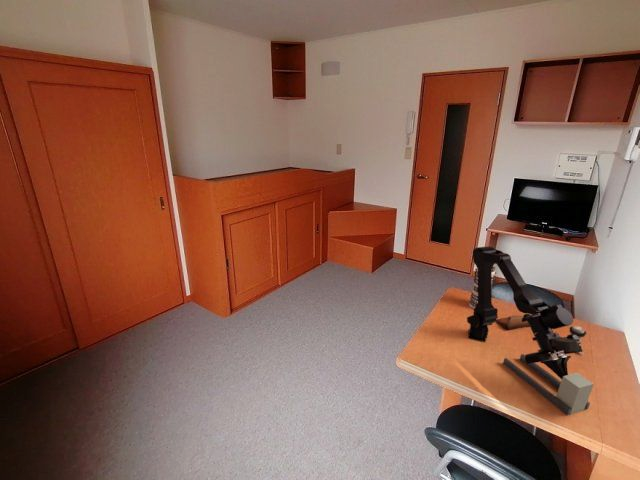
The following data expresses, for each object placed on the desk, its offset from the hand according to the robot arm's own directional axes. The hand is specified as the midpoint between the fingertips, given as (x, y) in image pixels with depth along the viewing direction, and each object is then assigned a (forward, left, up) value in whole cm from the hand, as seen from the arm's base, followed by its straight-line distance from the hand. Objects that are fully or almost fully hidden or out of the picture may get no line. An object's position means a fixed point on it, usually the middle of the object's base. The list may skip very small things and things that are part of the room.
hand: (566, 381), depth 102 cm
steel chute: (-4, +4, -8) cm, 10 cm away
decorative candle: (-22, +56, -8) cm, 61 cm away
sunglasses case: (-6, +46, -9) cm, 48 cm away
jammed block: (+2, -2, -7) cm, 7 cm away
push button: (+12, +34, -8) cm, 37 cm away
